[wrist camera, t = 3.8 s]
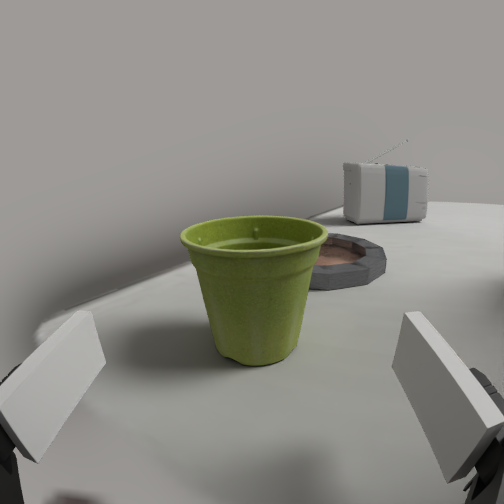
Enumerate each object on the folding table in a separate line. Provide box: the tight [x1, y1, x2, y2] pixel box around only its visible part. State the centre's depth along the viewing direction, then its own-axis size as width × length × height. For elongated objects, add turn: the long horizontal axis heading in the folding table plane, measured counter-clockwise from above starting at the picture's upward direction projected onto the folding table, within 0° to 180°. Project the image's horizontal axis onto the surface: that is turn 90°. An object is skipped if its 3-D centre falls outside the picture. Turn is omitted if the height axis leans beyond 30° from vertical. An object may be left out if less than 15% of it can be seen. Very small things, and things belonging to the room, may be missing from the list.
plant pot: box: [180, 216, 328, 366], centre depth 21 cm, size 9×9×9 cm
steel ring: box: [309, 233, 387, 290], centre depth 39 cm, size 18×18×2 cm
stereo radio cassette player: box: [343, 140, 428, 225], centre depth 63 cm, size 21×8×20 cm, turn 102°
